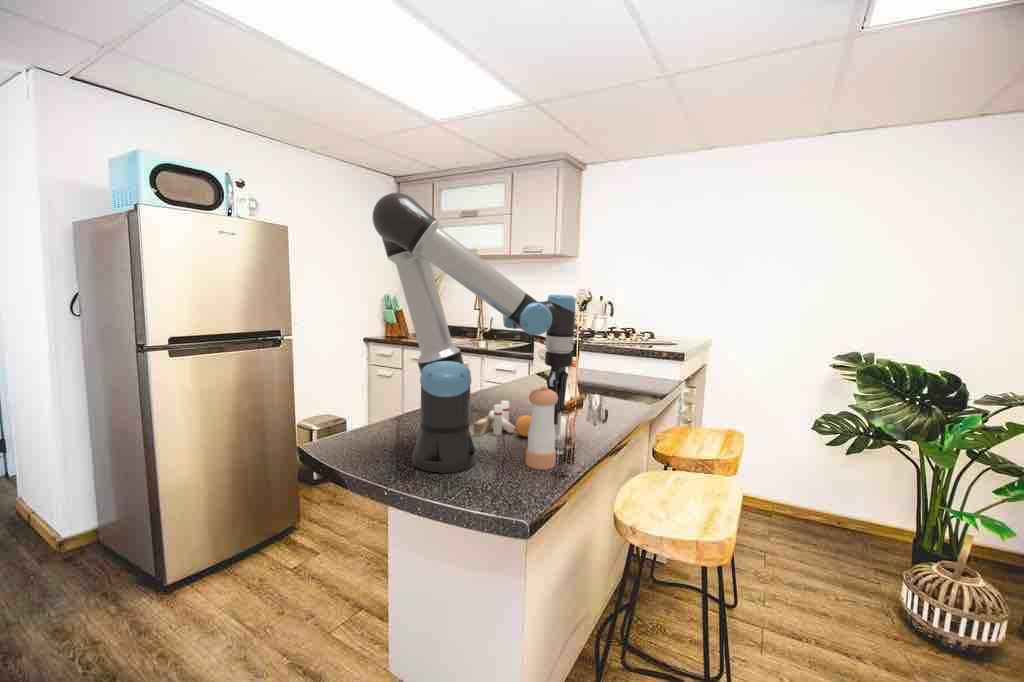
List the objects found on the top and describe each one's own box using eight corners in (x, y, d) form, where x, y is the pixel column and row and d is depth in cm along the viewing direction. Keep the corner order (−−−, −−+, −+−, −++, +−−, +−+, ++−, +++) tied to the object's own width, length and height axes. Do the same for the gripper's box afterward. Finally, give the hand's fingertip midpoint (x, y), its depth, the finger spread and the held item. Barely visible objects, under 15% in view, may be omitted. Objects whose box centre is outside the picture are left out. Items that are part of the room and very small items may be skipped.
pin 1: (495, 435, 127) (496, 407, 126) (491, 433, 129) (492, 404, 128) (503, 434, 128) (504, 406, 127) (498, 432, 131) (499, 403, 130)
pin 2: (503, 431, 132) (503, 403, 131) (498, 428, 134) (499, 401, 133) (510, 429, 133) (511, 402, 132) (505, 427, 135) (506, 400, 134)
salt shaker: (519, 464, 107) (522, 386, 105) (536, 455, 113) (539, 381, 111) (544, 472, 103) (548, 391, 101) (561, 463, 109) (565, 386, 107)
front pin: (511, 431, 128) (487, 414, 130) (509, 435, 130) (486, 418, 132) (516, 425, 129) (492, 408, 132) (514, 429, 131) (491, 412, 134)
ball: (514, 421, 124) (522, 441, 124) (534, 412, 125) (541, 432, 125) (510, 419, 130) (518, 438, 130) (529, 411, 131) (536, 430, 131)
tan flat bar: (479, 436, 126) (479, 424, 126) (473, 435, 127) (473, 423, 126) (499, 423, 139) (500, 412, 138) (494, 422, 140) (494, 411, 139)
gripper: (565, 355, 114) (561, 443, 117) (578, 349, 126) (573, 429, 129) (538, 352, 117) (534, 439, 120) (553, 347, 129) (549, 426, 132)
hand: (554, 434), depth 125 cm, fingers closed
